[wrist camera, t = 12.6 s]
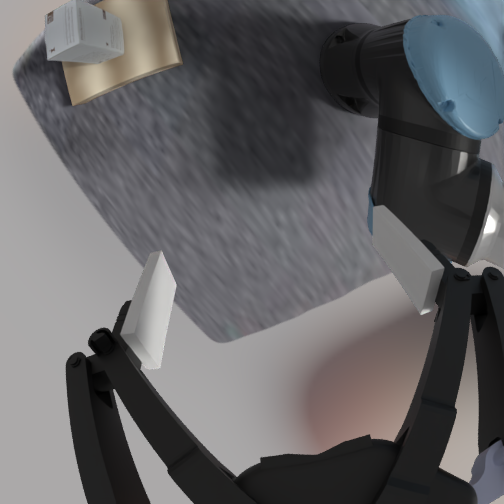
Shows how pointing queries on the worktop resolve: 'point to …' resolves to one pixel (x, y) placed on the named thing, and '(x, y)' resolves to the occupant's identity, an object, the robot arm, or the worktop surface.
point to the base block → (128, 50)
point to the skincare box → (83, 34)
